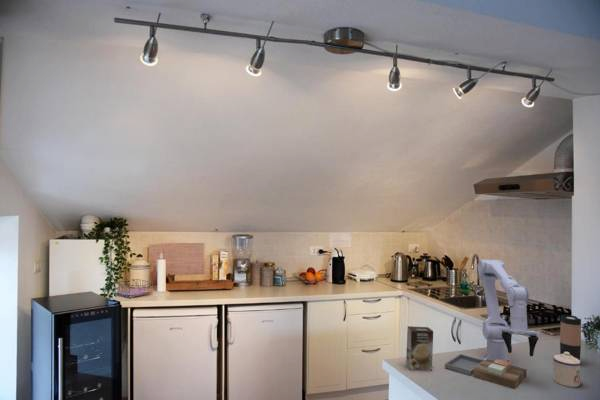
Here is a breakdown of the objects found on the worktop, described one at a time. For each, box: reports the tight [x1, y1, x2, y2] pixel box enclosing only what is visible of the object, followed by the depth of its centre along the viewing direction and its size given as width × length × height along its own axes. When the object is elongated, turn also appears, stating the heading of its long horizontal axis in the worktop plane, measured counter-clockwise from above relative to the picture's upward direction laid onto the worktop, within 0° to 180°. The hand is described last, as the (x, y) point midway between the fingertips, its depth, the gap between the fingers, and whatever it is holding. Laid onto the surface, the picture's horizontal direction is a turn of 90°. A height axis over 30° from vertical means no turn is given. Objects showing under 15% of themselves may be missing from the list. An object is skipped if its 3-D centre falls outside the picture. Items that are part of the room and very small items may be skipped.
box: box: [444, 353, 484, 377], centre depth 173 cm, size 16×10×2 cm, turn 137°
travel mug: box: [559, 314, 582, 361], centre depth 181 cm, size 8×8×20 cm
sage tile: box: [488, 363, 506, 376], centre depth 161 cm, size 5×5×2 cm
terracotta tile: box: [494, 359, 512, 371], centre depth 166 cm, size 5×5×2 cm
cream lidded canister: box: [552, 352, 582, 388], centre depth 161 cm, size 12×9×12 cm
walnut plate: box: [472, 359, 527, 390], centre depth 164 cm, size 16×15×3 cm
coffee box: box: [405, 326, 434, 371], centre depth 171 cm, size 9×6×16 cm
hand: (520, 354), depth 160 cm, fingers open, 7 cm apart
